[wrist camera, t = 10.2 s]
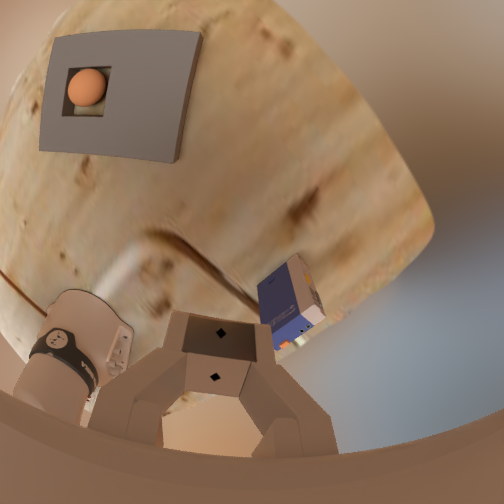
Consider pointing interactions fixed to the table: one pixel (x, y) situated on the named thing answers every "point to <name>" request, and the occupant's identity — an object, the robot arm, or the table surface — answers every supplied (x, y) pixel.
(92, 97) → the ball
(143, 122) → the pocket board
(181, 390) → the robot arm
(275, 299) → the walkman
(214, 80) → the table surface
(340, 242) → the table surface
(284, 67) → the table surface
